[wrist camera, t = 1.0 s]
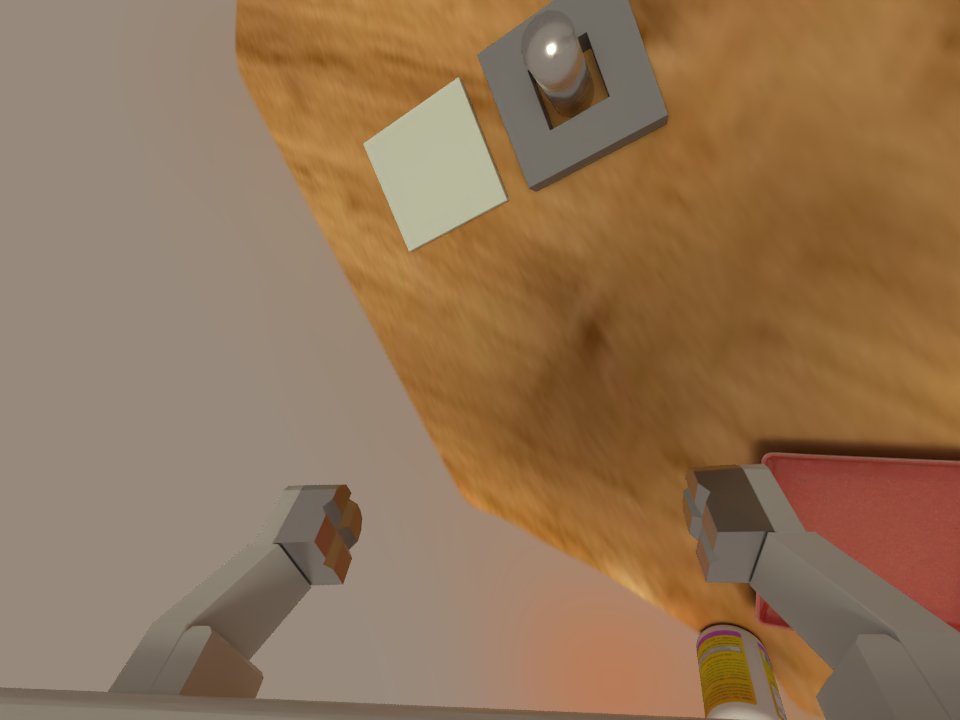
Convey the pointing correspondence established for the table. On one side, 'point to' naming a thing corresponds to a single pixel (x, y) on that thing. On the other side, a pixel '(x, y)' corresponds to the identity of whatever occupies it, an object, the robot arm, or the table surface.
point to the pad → (436, 167)
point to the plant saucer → (880, 521)
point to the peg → (558, 62)
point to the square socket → (596, 131)
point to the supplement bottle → (737, 676)
